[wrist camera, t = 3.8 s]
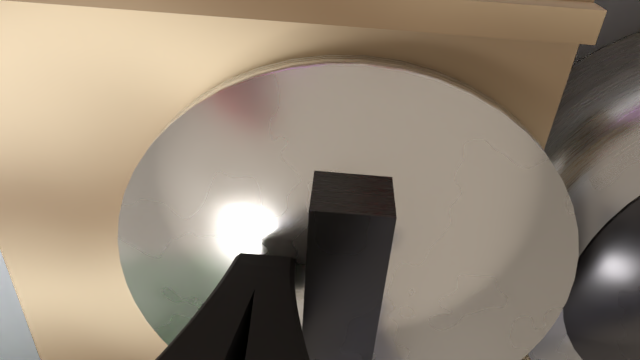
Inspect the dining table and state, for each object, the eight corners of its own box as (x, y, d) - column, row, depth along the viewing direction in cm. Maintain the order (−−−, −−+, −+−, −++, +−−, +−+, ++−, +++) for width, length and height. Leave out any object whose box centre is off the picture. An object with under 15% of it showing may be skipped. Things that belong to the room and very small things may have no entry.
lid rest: (433, 316, 20) (454, 442, 16) (107, 288, 20) (41, 403, 16) (526, -46, 13) (609, 4, 9) (22, -82, 13) (-138, -50, 9)
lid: (504, 412, 15) (521, 480, 14) (154, 380, 16) (130, 443, 14) (645, 76, 10) (706, 123, 8) (89, 33, 10) (34, 71, 8)
